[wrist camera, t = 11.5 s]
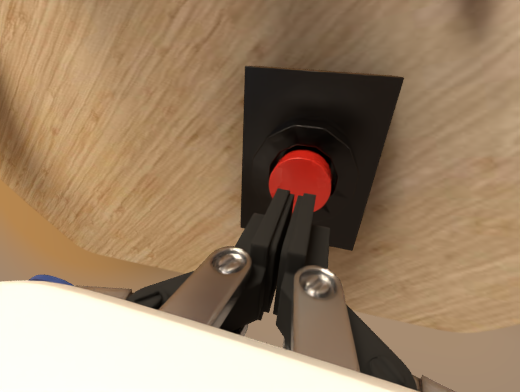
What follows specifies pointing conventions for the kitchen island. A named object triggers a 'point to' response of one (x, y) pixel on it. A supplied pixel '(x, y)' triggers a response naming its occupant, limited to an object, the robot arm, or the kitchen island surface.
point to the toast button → (302, 176)
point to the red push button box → (317, 137)
